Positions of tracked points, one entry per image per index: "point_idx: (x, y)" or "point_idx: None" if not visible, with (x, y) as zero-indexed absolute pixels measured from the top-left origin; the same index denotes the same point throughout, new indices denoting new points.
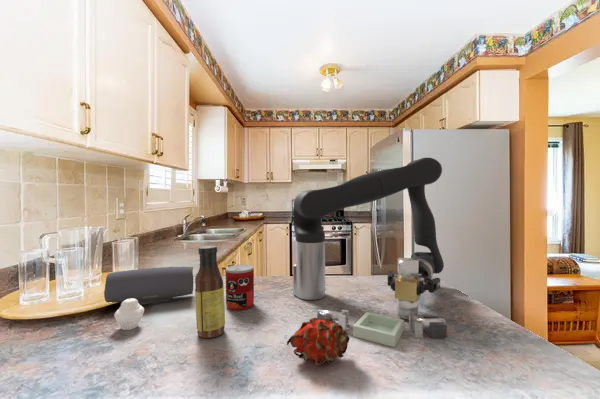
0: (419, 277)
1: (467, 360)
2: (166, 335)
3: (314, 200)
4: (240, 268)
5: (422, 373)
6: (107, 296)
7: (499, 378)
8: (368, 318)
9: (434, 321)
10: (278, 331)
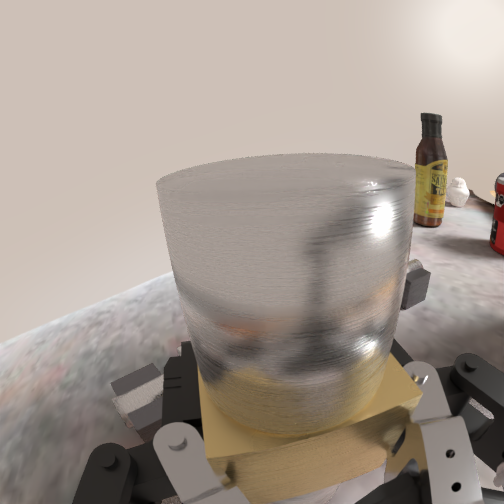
0: (231, 493)
1: (96, 350)
2: None
3: None
4: None
5: (169, 293)
6: (495, 190)
7: (66, 332)
8: None
9: (144, 382)
10: None
